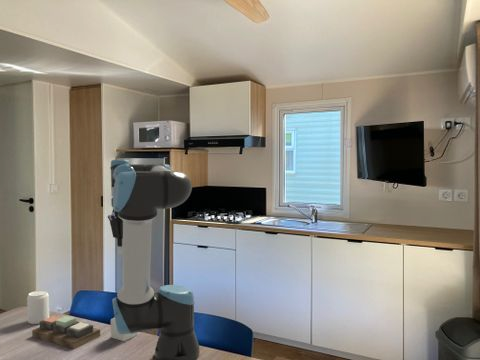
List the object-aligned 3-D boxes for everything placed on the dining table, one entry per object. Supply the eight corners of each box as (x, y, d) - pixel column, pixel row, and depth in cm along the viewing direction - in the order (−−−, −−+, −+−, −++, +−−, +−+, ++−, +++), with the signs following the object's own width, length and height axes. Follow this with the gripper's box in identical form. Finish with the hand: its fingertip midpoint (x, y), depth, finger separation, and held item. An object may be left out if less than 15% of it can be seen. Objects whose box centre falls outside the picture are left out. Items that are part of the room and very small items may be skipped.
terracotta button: (62, 324, 158) (62, 317, 157) (51, 328, 153) (51, 322, 153) (54, 321, 160) (54, 315, 160) (42, 326, 155) (42, 320, 155)
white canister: (40, 325, 163) (39, 296, 163) (23, 324, 165) (22, 295, 165) (53, 318, 171) (52, 290, 171) (37, 317, 173) (36, 289, 172)
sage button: (76, 324, 154) (75, 317, 154) (64, 329, 150) (64, 322, 149) (67, 322, 156) (66, 315, 156) (55, 326, 152) (55, 320, 152)
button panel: (100, 335, 153) (99, 323, 153) (74, 348, 142) (73, 335, 142) (59, 325, 164) (59, 313, 164) (32, 336, 153) (32, 323, 153)
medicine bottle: (125, 330, 158) (124, 300, 157) (138, 334, 154) (137, 303, 153) (110, 337, 152) (109, 306, 151) (124, 341, 148) (123, 309, 147)
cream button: (90, 331, 151) (89, 324, 150) (79, 336, 146) (78, 329, 146) (80, 328, 153) (80, 322, 153) (69, 333, 148) (69, 327, 148)
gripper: (125, 195, 173) (126, 249, 174) (102, 198, 161) (103, 256, 162) (138, 196, 169) (139, 251, 170) (116, 198, 158) (117, 258, 159)
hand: (122, 253), depth 166 cm, fingers closed
